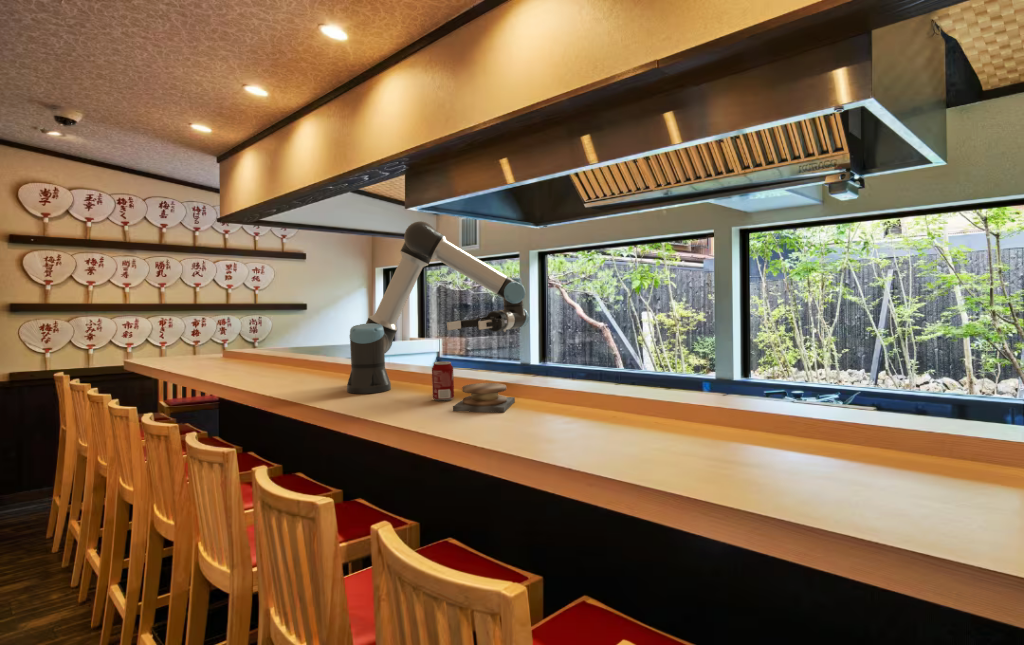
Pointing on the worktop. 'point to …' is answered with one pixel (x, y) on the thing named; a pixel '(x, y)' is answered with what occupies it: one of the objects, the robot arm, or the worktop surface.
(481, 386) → the spool
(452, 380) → the soda can
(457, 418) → the worktop surface
